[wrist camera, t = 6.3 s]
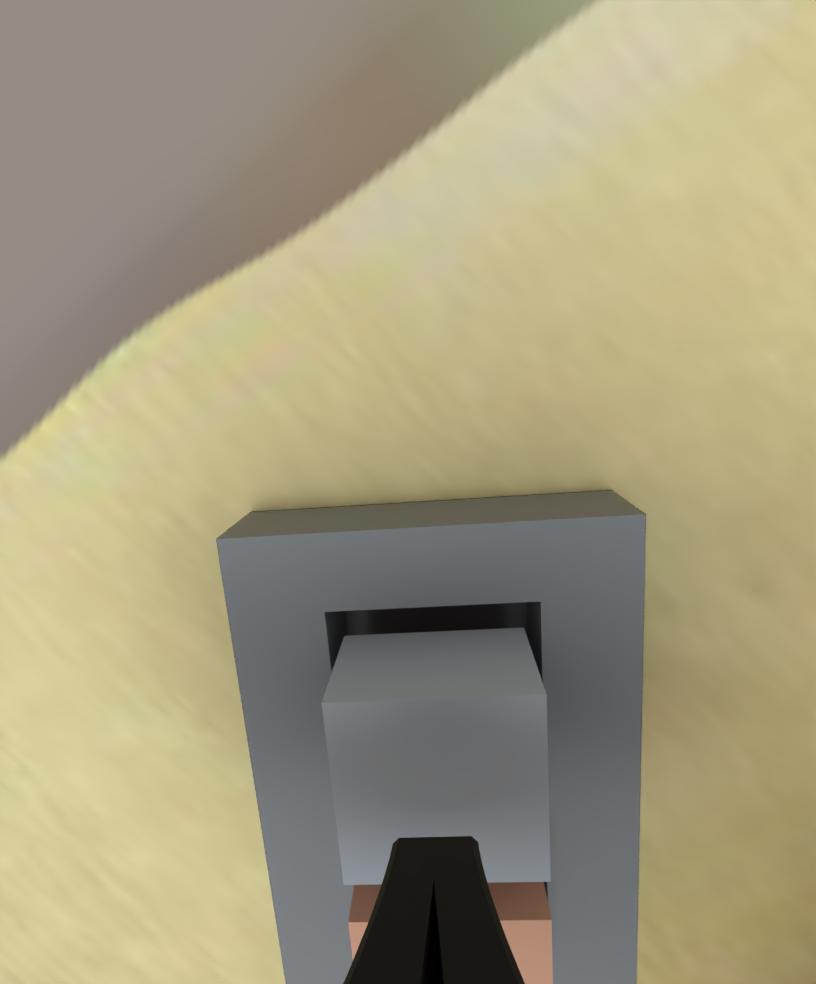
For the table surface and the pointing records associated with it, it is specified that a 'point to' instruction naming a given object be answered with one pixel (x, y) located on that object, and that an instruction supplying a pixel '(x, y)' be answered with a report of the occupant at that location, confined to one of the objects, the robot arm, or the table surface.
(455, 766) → the slate key
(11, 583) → the table surface
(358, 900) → the terracotta key
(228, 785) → the table surface
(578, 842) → the key panel
